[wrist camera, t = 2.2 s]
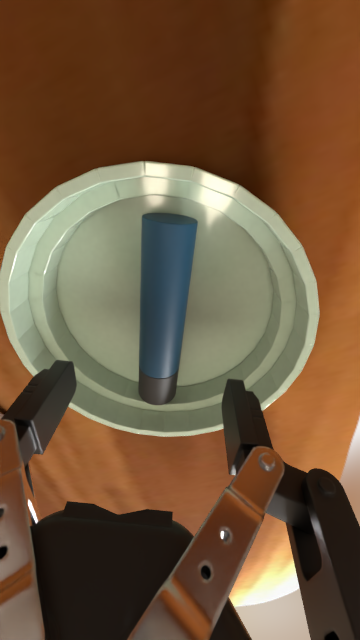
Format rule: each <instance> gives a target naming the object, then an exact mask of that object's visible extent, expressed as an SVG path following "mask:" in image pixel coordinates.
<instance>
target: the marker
mask: <svg viewBox="0 0 360 640" xmlns="http://www.w3.org/2000/svg"><path fill="white" fill-rule="evenodd" d="M197 225H198V221H197V220H196V219H194V218H192V217H188V216H184V215H179V214H171V213H147V214H144V215H142V229H141V282H140V334H139V386H138V392H139V395H140V397H141V399H142V400H143V401H145V402H146V403H148V404H151V405H164V404H167V403H169V402H170V401H171V400H172V399H173V398H174V397H175V394H176V388H177V380H178V372H179V364H180V357H181V349H182V341H183V333H184V326H185V318H186V310H187V303H188V295H189V287H190V279H191V272H192V264H193V256H194V249H195V241H196V233H197Z"/></svg>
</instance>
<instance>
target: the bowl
mask: <svg viewBox="0 0 360 640" xmlns="http://www.w3.org/2000/svg"><path fill="white" fill-rule="evenodd" d="M147 213H171V214H179V215H184V216H188V217H192V218H194V219H196V220H197V221H198V225H197V233H196V241H195V249H194V256H193V264H192V272H191V279H190V287H189V295H188V303H187V310H186V318H185V326H184V333H183V341H182V349H181V357H180V364H179V372H178V380H177V388H176V394H175V397H174V398H173V399H172V400H171V401H170V402H169V403H167V404H164V405H151V404H148V403H146V402H145V401H143V400H142V399H141V397H140V395H139V392H138V386H139V334H140V282H141V229H142V215H144V214H147ZM0 310H1V311H0V312H1V315H2V319H3V322H4V325H5V328H6V331H7V335H8V338H9V339H10V342H11V344H12V346H13V347H14V349H15V351H16V353H17V354H18V356H19V358H20V360H21V361H22V363H23V365H24V366H25V367H26V368H27V369H28V371H29V372H30V373H31V374H32V375H33V376H35V375H36V374H38V373H39V372H40V371H42V370H43V369H50V367H51V366H52V365H53V363H54V362H55V361H56V360H65V361H72V362H73V363H74V369H75V375H76V382H77V386H76V391H75V394H74V396H73V398H72V400H71V402H70V404H69V406H68V407H70V408H72V409H74V410H75V411H77V412H79V413H80V414H82V415H84V416H86V417H88V418H90V419H92V420H95V421H97V422H100V423H102V424H105V425H107V426H110V427H113V428H116V429H120V430H124V431H128V432H132V433H136V434H138V433H139V434H144V435H154V436H165V437H169V436H190V435H197V434H202V433H208V432H213V431H217V430H220V429H223V428H224V427H223V419H222V409H221V405H222V398H223V394H224V390H225V387H226V383H227V380H228V378H229V379H239V380H243V381H244V385H245V389H246V391H253V393H254V394H255V395H256V397H257V398H258V399H259V402H260V405H261V411H262V410H263V409H265V408H266V407H268V406H269V405H270V404H271V403H272V402H274V401H275V400H276V399H277V398H279V397H280V396H281V395H282V394H283V393H284V392H285V391H286V390H287V389H288V388H289V386H290V385H291V384H292V383H293V381H294V380H295V379H296V378H297V376H298V375H299V374H300V373H301V371H302V369H303V367H304V365H305V363H306V361H307V359H308V357H309V354H310V352H311V350H312V348H313V346H314V342H315V337H316V331H317V326H318V320H319V314H320V312H319V301H318V291H317V281H316V278H315V275H314V273H313V270H312V268H311V265H310V263H309V260H308V258H307V255H306V253H305V250H304V248H303V246H302V244H301V243H300V241H299V240H298V239H297V238H296V236H295V235H294V234H293V232H292V231H291V230H290V229H289V227H288V226H287V225H286V223H285V222H284V221H283V220H282V218H281V217H280V216H279V214H278V213H276V211H275V210H273V209H272V208H271V207H269V206H268V205H267V204H265V203H264V202H263V201H261V200H260V199H258V198H257V197H256V196H254V195H253V194H252V193H250V192H249V191H248V190H246V189H245V188H244V187H242V186H241V185H239V184H237V183H235V182H232V181H230V180H227V179H225V178H222V177H220V176H217V175H214V174H212V173H209V172H207V171H204V170H202V169H199V168H197V167H193V166H187V165H178V164H169V163H161V162H152V161H138V162H132V163H125V164H118V165H112V166H105V167H99V168H97V169H93V170H91V171H89V172H86V173H84V174H82V175H80V176H78V177H76V178H73V179H71V180H69V181H67V182H65V183H63V184H60V185H58V186H57V187H55V188H54V189H52V190H51V191H50V192H49V193H48V194H47V195H46V196H45V197H44V198H42V199H41V200H40V201H39V202H38V203H37V204H36V205H35V206H33V207H32V208H31V209H30V210H29V211H28V212H27V213H26V214H25V215H24V217H23V218H22V220H21V222H20V224H19V225H18V227H17V229H16V230H15V232H14V234H13V235H12V237H11V239H10V240H9V242H8V244H7V246H6V249H5V253H4V257H3V262H2V266H1V270H0Z"/></svg>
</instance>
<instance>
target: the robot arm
mask: <svg viewBox="0 0 360 640" xmlns="http://www.w3.org/2000/svg"><path fill="white" fill-rule="evenodd" d="M76 386H77V382H76V375H75V369H74V363H73V362H72V361H65V360H56V361H55V362H54V363H53V365H52V366H51V367H50V369H43V370H42V371H40V372H39V373H38V374H36V375H35V376H34V377H33V378H32V380H31V381H30V382H29V383H28V385H27V386H26V387H25V389H24V390H23V392H22V393H21V394H20V395H19V396H18V398H17V399H16V400H15V402H14V403H13V404H12V405H11V407H10V408H9V409H8V411H7V412H6V413H5V414H4V416H3V417H2V418H1V419H0V640H252V639H251V637H250V635H249V634H248V632H247V630H246V628H245V626H244V624H243V622H242V621H241V619H240V617H239V615H238V613H237V612H236V610H235V608H234V606H233V604H232V603H231V601H230V599H229V597H228V596H229V594H230V592H231V590H232V587H233V585H234V583H235V581H236V579H237V577H238V574H239V572H240V570H241V568H242V566H243V563H244V561H245V559H246V557H247V555H248V553H249V550H250V548H251V546H252V544H253V542H254V539H255V537H256V535H257V533H258V531H259V529H260V526H261V524H262V522H263V519H264V515H265V513H267V514H269V515H271V516H273V517H276V518H278V519H280V520H282V521H284V522H286V526H287V531H288V535H289V540H290V545H291V549H292V554H293V559H294V563H295V568H296V573H297V577H298V582H299V587H300V591H301V596H302V600H303V605H304V610H305V615H306V619H307V624H308V629H309V633H310V637H311V640H360V526H359V524H358V521H357V519H356V517H355V514H354V512H353V510H352V507H351V505H350V502H349V500H348V498H347V495H346V493H345V491H344V489H343V487H342V485H341V483H340V482H339V481H338V480H337V479H336V478H335V477H334V476H333V475H332V474H330V473H329V472H327V471H325V470H322V469H317V468H315V469H311V470H310V471H309V472H308V473H306V472H304V471H301V470H299V469H297V468H294V467H292V466H290V465H288V464H286V463H285V462H284V461H283V460H282V459H281V457H280V456H279V454H278V453H277V452H275V451H274V449H273V447H272V444H271V440H270V437H269V433H268V430H267V426H266V423H265V419H264V416H263V412H262V411H261V405H260V402H259V399H258V398H257V397H256V395H255V394H254V393H253V391H246V389H245V385H244V381H243V380H239V379H229V378H228V380H227V383H226V387H225V390H224V394H223V398H222V405H221V409H222V419H223V427H224V435H225V444H226V452H227V461H228V469H229V474H230V475H235V477H234V479H233V480H232V482H231V483H230V485H229V486H228V487H226V488H225V490H224V491H223V493H222V494H221V496H220V497H219V499H218V500H217V502H216V504H215V505H214V507H213V508H212V510H211V511H210V513H209V515H208V516H207V518H206V519H205V521H204V522H203V524H202V525H201V527H200V529H199V530H198V532H197V533H196V535H195V536H193V535H192V534H191V533H190V532H189V531H188V530H187V529H186V528H185V527H184V526H182V525H181V524H179V523H177V522H175V521H173V520H172V513H173V512H169V511H159V510H149V509H146V510H141V511H136V512H131V513H126V514H121V515H117V514H115V513H112V512H110V511H108V510H106V509H103V508H101V507H99V506H97V505H94V504H88V503H78V502H68V501H67V504H66V506H65V509H64V510H62V511H58V512H56V513H53V514H51V515H49V516H46V517H45V518H43V519H41V516H40V512H39V509H38V505H37V501H36V495H35V490H34V485H33V479H32V474H31V469H30V464H29V461H30V459H31V457H32V455H33V454H42V455H43V453H44V451H45V449H46V447H47V445H48V443H49V441H50V439H51V438H52V436H53V434H54V432H55V430H56V428H57V426H58V424H59V422H60V421H61V419H62V417H63V415H64V413H65V411H66V409H67V407H68V406H69V404H70V402H71V400H72V398H73V396H74V394H75V391H76Z"/></svg>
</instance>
